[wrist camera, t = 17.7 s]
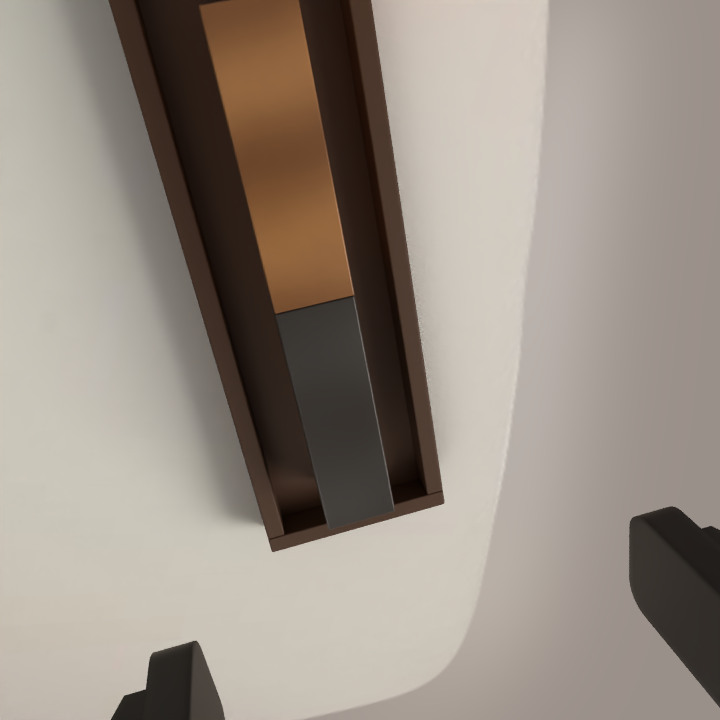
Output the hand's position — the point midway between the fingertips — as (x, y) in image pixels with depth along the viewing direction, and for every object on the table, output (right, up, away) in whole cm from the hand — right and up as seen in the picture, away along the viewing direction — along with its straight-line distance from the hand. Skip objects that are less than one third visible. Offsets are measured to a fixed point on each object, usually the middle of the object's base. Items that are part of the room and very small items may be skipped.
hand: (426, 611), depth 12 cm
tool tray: (-4, +8, +16) cm, 18 cm away
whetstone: (-4, +8, +16) cm, 18 cm away
